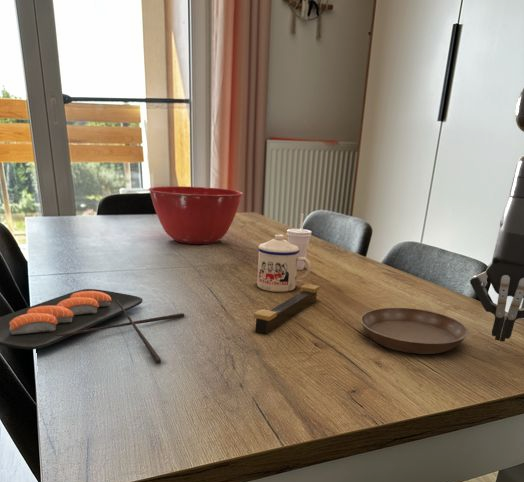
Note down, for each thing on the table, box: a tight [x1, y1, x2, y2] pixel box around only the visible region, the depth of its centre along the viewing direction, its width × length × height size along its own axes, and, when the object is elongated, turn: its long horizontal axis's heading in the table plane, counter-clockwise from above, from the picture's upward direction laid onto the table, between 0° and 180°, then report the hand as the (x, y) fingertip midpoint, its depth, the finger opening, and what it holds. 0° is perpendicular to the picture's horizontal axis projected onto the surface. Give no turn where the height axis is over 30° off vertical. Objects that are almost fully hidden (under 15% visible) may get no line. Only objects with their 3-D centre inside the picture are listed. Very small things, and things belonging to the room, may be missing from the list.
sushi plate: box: [0, 288, 185, 364], centre depth 84 cm, size 29×30×4 cm
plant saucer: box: [360, 307, 469, 355], centre depth 88 cm, size 18×18×3 cm
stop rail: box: [253, 283, 321, 335], centre depth 97 cm, size 3×24×3 cm, turn 154°
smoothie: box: [286, 212, 312, 271], centre depth 132 cm, size 6×6×14 cm
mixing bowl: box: [147, 185, 243, 245], centre depth 160 cm, size 28×28×16 cm
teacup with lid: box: [256, 234, 312, 293], centre depth 113 cm, size 12×9×12 cm
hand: (499, 339), depth 82 cm, fingers closed
